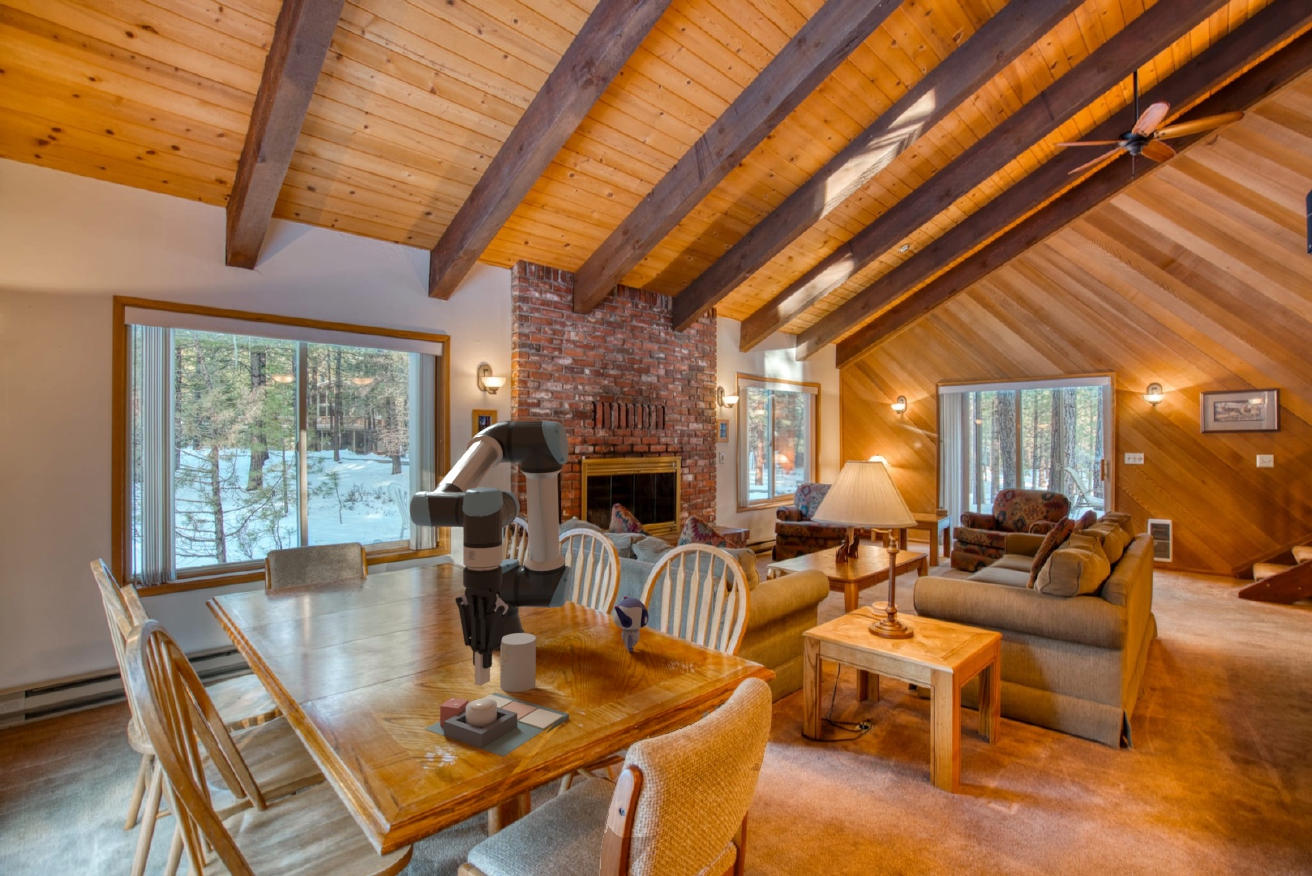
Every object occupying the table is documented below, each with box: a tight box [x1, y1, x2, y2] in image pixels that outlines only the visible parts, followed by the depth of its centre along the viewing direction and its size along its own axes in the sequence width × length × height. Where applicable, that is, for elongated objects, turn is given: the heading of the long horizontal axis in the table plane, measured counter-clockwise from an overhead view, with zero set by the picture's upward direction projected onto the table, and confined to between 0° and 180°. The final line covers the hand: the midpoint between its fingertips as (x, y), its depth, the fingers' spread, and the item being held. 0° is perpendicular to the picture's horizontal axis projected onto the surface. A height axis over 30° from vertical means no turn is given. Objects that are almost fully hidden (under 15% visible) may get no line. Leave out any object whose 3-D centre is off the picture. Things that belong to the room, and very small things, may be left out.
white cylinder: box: [499, 632, 537, 693], centre depth 146 cm, size 8×8×12 cm
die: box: [439, 697, 469, 726], centre depth 127 cm, size 4×4×4 cm
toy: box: [612, 596, 650, 653], centre depth 172 cm, size 11×10×15 cm
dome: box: [466, 698, 497, 729], centre depth 124 cm, size 6×6×4 cm
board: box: [424, 692, 570, 757], centre depth 128 cm, size 21×20×4 cm
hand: (482, 682), depth 124 cm, fingers closed
